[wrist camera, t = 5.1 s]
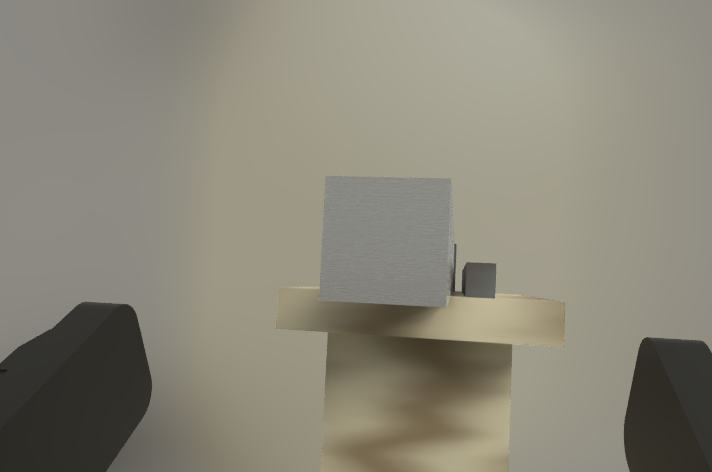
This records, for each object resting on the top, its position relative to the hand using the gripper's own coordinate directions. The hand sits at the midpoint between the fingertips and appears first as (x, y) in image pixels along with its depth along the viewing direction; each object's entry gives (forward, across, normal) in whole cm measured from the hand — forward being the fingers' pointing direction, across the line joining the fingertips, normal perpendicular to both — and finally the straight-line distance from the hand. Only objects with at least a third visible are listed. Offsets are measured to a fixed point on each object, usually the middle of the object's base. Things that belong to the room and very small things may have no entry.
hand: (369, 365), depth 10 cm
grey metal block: (+12, 0, +6) cm, 14 cm away
